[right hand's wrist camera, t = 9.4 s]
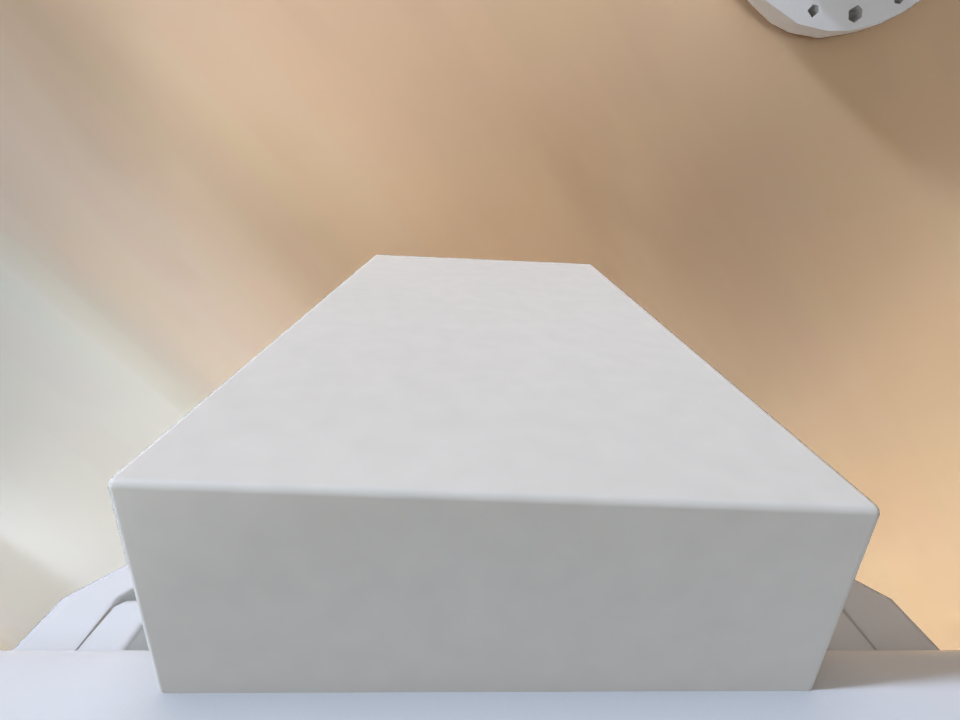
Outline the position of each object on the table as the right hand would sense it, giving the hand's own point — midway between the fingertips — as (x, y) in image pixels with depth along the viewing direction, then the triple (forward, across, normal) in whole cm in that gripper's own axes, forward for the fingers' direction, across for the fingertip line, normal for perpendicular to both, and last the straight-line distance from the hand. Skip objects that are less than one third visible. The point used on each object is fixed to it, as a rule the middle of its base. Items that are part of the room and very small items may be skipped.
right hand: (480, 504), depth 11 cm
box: (+6, 0, -8) cm, 10 cm away
